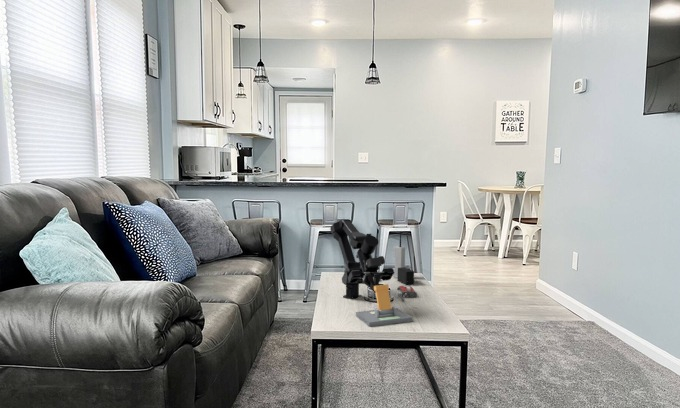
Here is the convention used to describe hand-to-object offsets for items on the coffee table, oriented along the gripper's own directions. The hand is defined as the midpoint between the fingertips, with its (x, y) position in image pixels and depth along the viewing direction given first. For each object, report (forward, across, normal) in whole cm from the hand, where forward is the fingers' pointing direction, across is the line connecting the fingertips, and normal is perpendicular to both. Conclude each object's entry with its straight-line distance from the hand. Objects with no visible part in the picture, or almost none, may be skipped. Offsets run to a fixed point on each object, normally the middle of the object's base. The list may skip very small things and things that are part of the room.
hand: (377, 293), depth 177 cm
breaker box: (+10, 0, +2) cm, 10 cm away
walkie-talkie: (-8, +24, +20) cm, 32 cm away
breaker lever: (+9, 0, -2) cm, 9 cm away
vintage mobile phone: (-31, +38, +43) cm, 65 cm away
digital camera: (-24, +36, +36) cm, 56 cm away
